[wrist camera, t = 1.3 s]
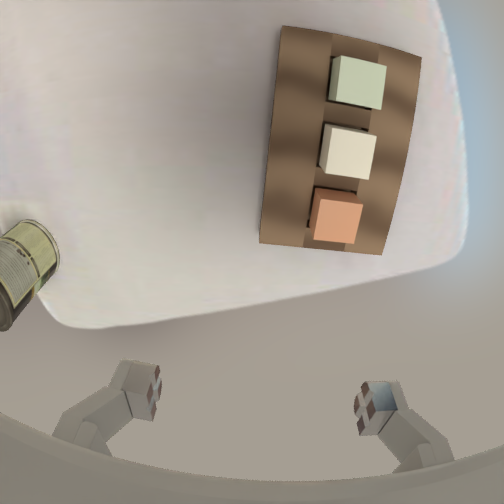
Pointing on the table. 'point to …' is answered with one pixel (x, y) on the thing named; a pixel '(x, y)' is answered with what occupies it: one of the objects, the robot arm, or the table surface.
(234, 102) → the table surface
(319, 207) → the key terracotta
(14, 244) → the coffee can
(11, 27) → the table surface
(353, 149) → the cream cube
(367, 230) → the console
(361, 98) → the key sage
